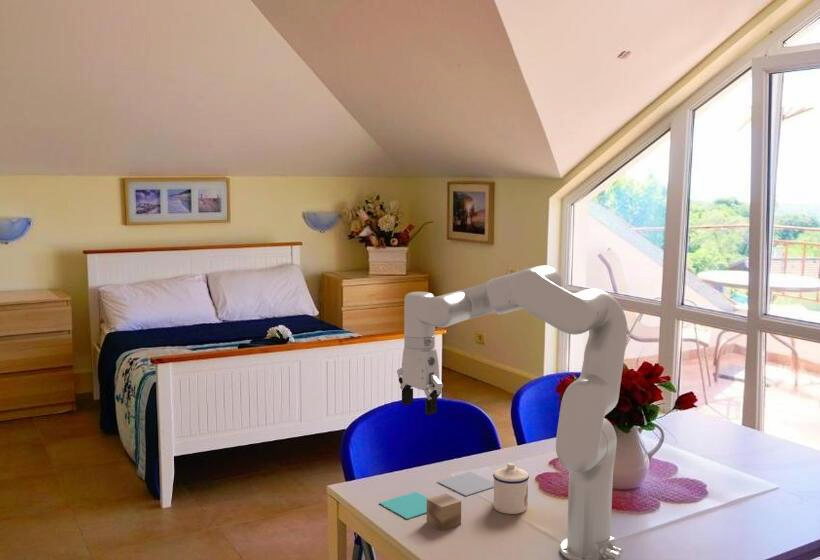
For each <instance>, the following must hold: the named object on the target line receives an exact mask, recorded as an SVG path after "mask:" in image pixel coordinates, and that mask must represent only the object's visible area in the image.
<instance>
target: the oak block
mask: <svg viewBox="0 0 820 560" xmlns="http://www.w3.org/2000/svg"><path fill="white" fill-rule="evenodd" d="M428 498H429V499H427V513H426V523H428V524H429V525H430V526H433V527H435V528H436V529H438V530H439V531H442V532H443V531H445V530H448V529H451V528H454V527H457V526H461V525H462V500H460V499H458V498H456V497H454V496H452V495H450V494H447V493H442V494H439V495H435V496H433V497H428Z"/></svg>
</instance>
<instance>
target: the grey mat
mask: <svg viewBox="0 0 820 560" xmlns="http://www.w3.org/2000/svg"><path fill="white" fill-rule="evenodd" d="M439 483H440V484H439ZM437 484H439V485H441V484H442V486H443V485H444V486H443V487H445V486H446V487H445V488H447V489H449V488H450V490H452V491H454V492H456V493H458V494H460V495H462V496H465V497H469V496H471V495H472V496H473V495H475V494H478V493H481V492H484V491H488V490H490V488H491V489H494V488H493V487H494V481H491V480H490V479H487V478H485V477H483V476H480V475H478V474H476V473H473V472H471V471H469V472H465V473H462V474H459V475H455V476H451V477H449V478H445V479H441V480H438V481H437ZM487 489H488V490H487Z"/></svg>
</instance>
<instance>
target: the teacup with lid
mask: <svg viewBox="0 0 820 560" xmlns="http://www.w3.org/2000/svg"><path fill="white" fill-rule="evenodd" d="M492 477H493V482H494V488H493V508H494V509H495V510H496V511H498V512H500V513H502V514H506V515H517V514H522V513H524V512H526V511H527V510H528V502H529V500H528V498H529V497H528V495H529V493H528V492H529V479H530V476H529V473H528V472H527V470H525V469H522V468H519V467H517V466H516V464H515V463H514V462H508V463H507V464H506V466H504V467H499V468H497V469H496V470H495V471H494V472H493V474H492Z"/></svg>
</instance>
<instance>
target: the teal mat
mask: <svg viewBox="0 0 820 560" xmlns="http://www.w3.org/2000/svg"><path fill="white" fill-rule="evenodd" d="M429 498H430V497H427V496H425V495H424V494H421V493H420V492H417V491H414V492H411V493H407V494H404V495H401V496H397V497H395V498H391V499H388V500H383V501H380V502H379V503H378V505H380V504H381V505H380V506H382V505H383V506H382V507H384V506H385V507H386V509H387V508H388V509H387V510H389V509H390V510H389V511H391V512H392V513H394V512H395V514H396V513H397V515H398V514H399V515H398V516H400V515H401V516H402V518H403V517H404V519H405V518H406V519H405V520H407V519H408V520H410V518H411V519H413V518H416V517H420V516H422V515H425V514H426V515H427V499H429ZM385 507H384V508H385ZM401 516H400V517H401Z"/></svg>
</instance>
